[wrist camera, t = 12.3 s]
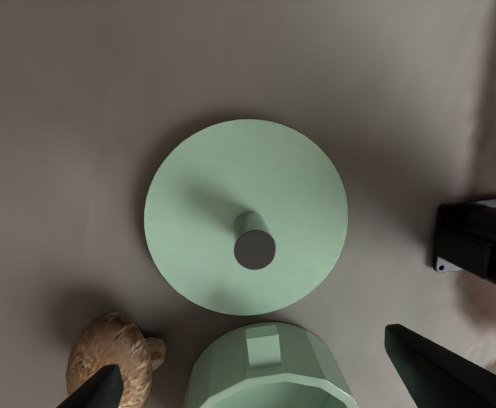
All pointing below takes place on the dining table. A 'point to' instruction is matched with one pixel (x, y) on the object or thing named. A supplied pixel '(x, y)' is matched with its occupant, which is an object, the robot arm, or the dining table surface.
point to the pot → (267, 371)
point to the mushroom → (116, 356)
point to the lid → (245, 217)
